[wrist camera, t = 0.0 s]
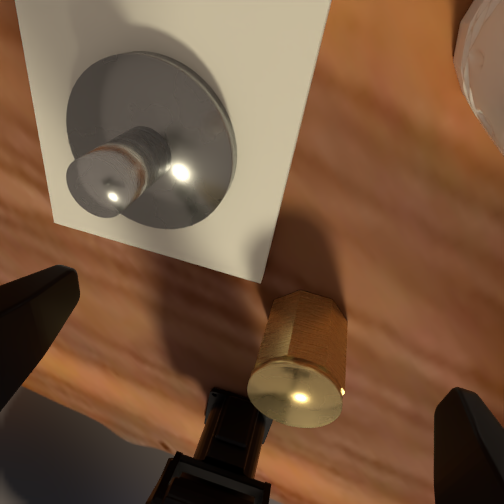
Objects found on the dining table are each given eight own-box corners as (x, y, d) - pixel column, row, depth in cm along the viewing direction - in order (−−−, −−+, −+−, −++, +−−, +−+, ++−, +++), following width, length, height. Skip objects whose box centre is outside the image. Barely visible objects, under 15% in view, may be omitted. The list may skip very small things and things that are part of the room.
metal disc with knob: (225, 237, 24) (190, 298, 19) (87, 197, 25) (20, 246, 20) (250, 75, 18) (209, 103, 13) (69, 31, 19) (-32, 42, 14)
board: (263, 276, 26) (260, 283, 26) (61, 217, 28) (54, 222, 27) (340, -37, 16) (339, -38, 15) (8, -105, 17) (-5, -109, 17)
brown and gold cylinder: (332, 356, 29) (326, 438, 24) (262, 335, 30) (240, 409, 24) (356, 305, 26) (355, 386, 20) (277, 282, 26) (256, 355, 21)
